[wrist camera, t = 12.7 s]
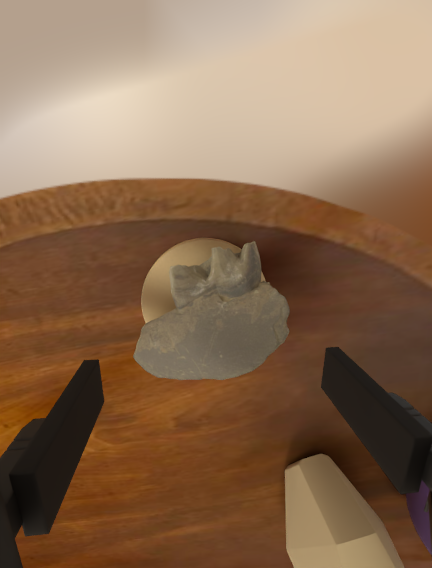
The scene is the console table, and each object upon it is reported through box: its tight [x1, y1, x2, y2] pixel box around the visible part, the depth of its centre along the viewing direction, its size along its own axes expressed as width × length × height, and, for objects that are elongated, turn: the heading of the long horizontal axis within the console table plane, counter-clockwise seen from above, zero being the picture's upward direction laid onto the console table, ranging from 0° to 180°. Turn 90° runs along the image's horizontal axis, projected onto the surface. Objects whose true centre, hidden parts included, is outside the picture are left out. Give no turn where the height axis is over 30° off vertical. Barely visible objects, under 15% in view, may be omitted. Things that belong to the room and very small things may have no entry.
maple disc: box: [141, 238, 266, 323], centre depth 29 cm, size 13×13×2 cm
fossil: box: [133, 241, 290, 380], centre depth 24 cm, size 14×10×10 cm
